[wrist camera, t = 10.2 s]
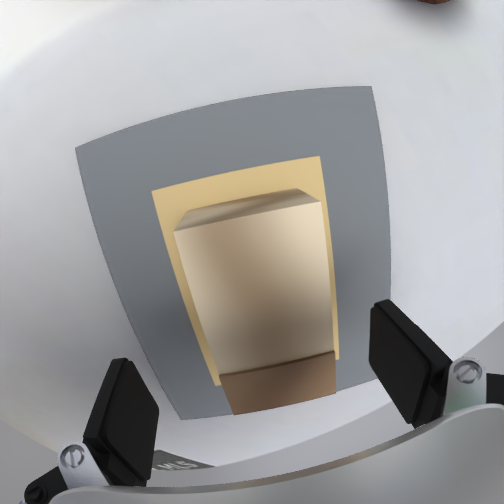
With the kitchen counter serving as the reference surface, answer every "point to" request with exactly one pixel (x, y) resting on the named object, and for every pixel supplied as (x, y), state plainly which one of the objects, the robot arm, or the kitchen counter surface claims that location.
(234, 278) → the birch block
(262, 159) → the mat
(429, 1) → the food container
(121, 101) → the kitchen counter surface
